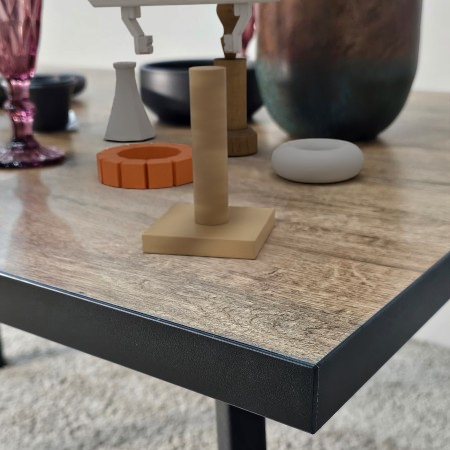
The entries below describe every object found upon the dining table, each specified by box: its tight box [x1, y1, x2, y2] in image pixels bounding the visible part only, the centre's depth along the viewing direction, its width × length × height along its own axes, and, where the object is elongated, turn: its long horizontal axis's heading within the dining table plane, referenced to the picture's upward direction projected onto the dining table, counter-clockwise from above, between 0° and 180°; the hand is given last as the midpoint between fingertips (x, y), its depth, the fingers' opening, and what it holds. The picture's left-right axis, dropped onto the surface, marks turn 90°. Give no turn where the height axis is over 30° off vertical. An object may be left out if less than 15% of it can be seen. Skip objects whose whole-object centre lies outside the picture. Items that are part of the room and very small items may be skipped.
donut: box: [270, 138, 365, 184], centre depth 80 cm, size 10×3×10 cm
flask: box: [103, 61, 155, 142], centre depth 101 cm, size 7×7×10 cm
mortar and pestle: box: [213, 3, 259, 157], centre depth 89 cm, size 7×6×18 cm
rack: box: [141, 65, 276, 260], centre depth 59 cm, size 9×9×14 cm
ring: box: [95, 141, 193, 190], centre depth 81 cm, size 11×11×3 cm
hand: (188, 53), depth 76 cm, fingers open, 8 cm apart
